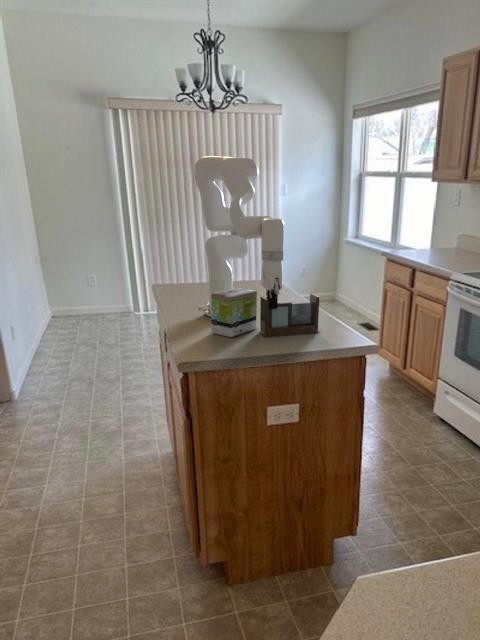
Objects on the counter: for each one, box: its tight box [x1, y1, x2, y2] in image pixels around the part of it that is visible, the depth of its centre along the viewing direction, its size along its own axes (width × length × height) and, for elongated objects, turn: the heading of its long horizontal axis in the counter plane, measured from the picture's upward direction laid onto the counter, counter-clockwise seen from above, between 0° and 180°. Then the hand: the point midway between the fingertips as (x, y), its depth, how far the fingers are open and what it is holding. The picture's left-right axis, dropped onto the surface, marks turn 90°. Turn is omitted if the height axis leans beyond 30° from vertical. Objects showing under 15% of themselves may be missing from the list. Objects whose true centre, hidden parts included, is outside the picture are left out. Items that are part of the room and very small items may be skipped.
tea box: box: [211, 287, 258, 338], centre depth 195 cm, size 15×10×15 cm, turn 148°
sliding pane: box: [268, 292, 293, 328], centre depth 192 cm, size 9×2×14 cm, turn 110°
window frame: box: [259, 292, 320, 338], centre depth 195 cm, size 21×6×14 cm, turn 110°
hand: (271, 307), depth 190 cm, fingers closed on sliding pane
